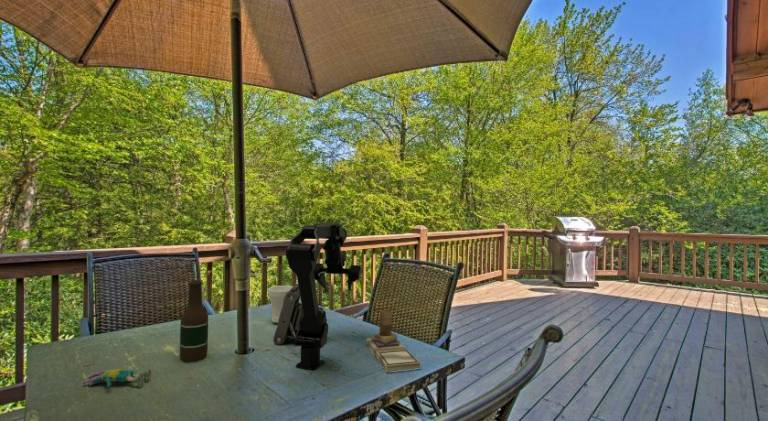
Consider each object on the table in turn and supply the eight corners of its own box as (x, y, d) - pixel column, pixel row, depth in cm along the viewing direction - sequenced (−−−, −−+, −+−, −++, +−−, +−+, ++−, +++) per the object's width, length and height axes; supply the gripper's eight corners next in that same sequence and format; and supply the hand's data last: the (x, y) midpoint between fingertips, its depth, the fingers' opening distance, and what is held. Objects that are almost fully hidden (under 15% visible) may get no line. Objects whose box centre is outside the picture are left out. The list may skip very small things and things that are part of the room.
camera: (315, 357, 128) (332, 301, 128) (268, 343, 129) (285, 287, 129) (321, 346, 139) (336, 294, 139) (278, 333, 140) (293, 281, 140)
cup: (264, 326, 148) (265, 291, 148) (270, 318, 159) (270, 285, 159) (293, 326, 149) (294, 291, 149) (297, 318, 160) (297, 285, 160)
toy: (158, 377, 105) (102, 384, 104) (156, 358, 105) (101, 365, 104) (134, 393, 94) (72, 401, 93) (132, 372, 94) (71, 379, 94)
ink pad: (399, 345, 126) (399, 343, 126) (377, 347, 124) (377, 345, 124) (392, 338, 133) (392, 336, 133) (371, 339, 131) (371, 337, 131)
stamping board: (419, 369, 112) (420, 362, 112) (386, 373, 109) (387, 365, 109) (394, 341, 135) (394, 335, 135) (366, 344, 132) (366, 338, 132)
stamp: (396, 341, 128) (397, 312, 128) (385, 345, 124) (386, 315, 124) (385, 336, 132) (385, 308, 132) (373, 340, 128) (374, 311, 128)
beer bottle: (196, 364, 112) (197, 284, 112) (173, 361, 114) (175, 282, 113) (212, 354, 120) (214, 279, 120) (191, 351, 121) (193, 277, 121)
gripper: (363, 244, 139) (366, 278, 146) (315, 242, 142) (320, 276, 149) (356, 260, 129) (360, 297, 136) (305, 258, 132) (311, 293, 139)
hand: (337, 290), depth 140 cm, fingers open, 9 cm apart
